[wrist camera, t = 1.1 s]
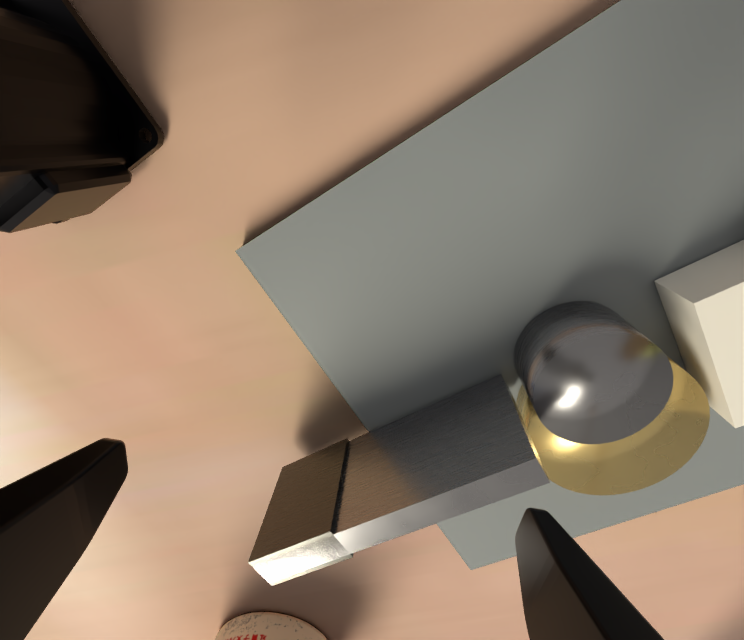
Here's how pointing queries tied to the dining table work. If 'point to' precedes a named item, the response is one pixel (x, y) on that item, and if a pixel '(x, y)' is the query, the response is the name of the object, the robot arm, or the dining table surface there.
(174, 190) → the dining table surface
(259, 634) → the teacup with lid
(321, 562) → the cam capstan
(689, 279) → the cam foot
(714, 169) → the level stand
